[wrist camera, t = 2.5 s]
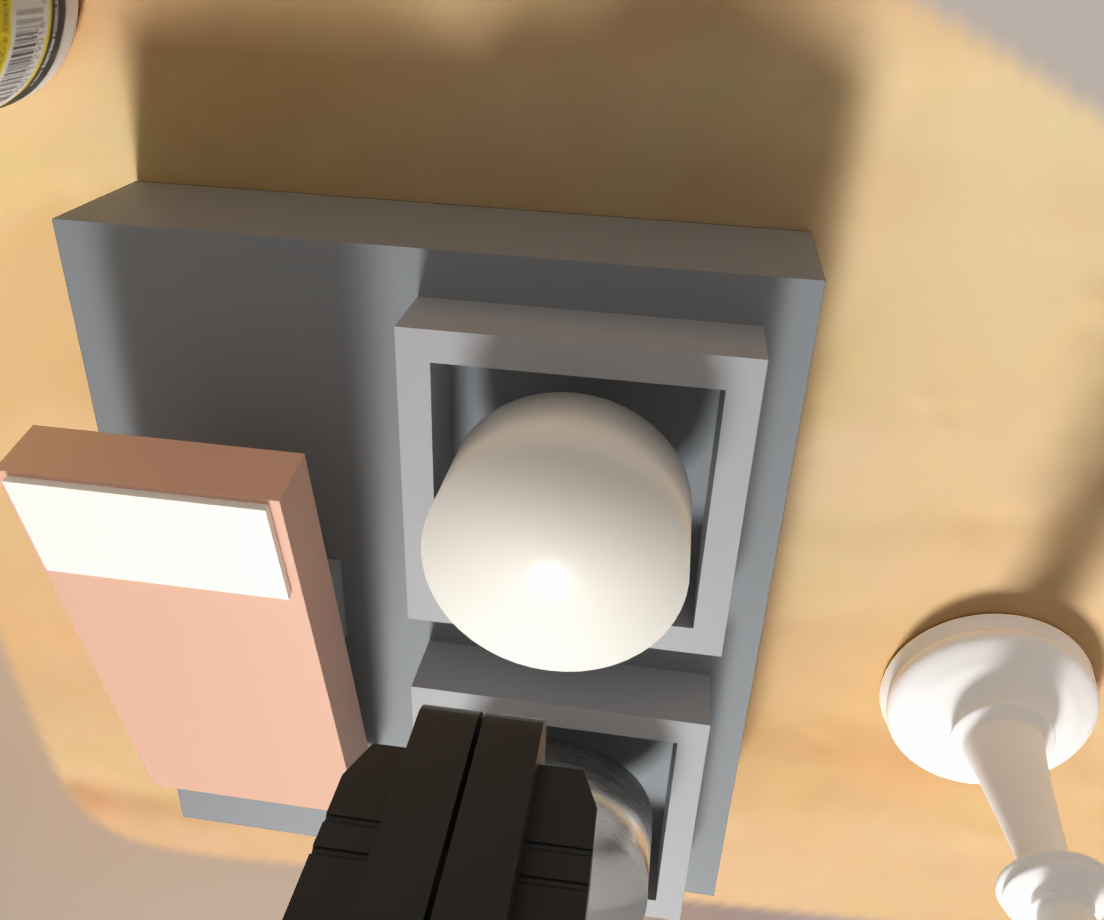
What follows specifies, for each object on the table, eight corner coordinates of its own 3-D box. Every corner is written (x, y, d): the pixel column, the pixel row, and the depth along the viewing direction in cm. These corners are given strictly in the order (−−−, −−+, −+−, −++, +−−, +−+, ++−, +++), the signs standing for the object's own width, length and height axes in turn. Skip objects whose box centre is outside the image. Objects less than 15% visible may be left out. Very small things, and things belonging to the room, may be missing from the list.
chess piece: (1064, 586, 22) (1293, 1018, 13) (1116, 738, 24) (1348, 1205, 15) (850, 646, 24) (931, 1066, 15) (915, 784, 25) (1020, 1229, 17)
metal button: (661, 752, 20) (656, 829, 18) (644, 890, 22) (637, 972, 20) (453, 724, 20) (429, 797, 19) (456, 862, 23) (435, 939, 21)
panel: (810, 231, 19) (835, 311, 15) (713, 801, 27) (713, 951, 23) (136, 180, 20) (-1, 241, 16) (231, 734, 28) (154, 864, 24)
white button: (705, 404, 16) (704, 462, 14) (679, 614, 18) (675, 687, 16) (447, 380, 17) (416, 433, 15) (451, 587, 19) (424, 655, 17)
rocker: (304, 453, 17) (275, 507, 16) (372, 768, 23) (355, 820, 22) (33, 424, 17) (-12, 475, 16) (175, 740, 24) (150, 790, 23)
